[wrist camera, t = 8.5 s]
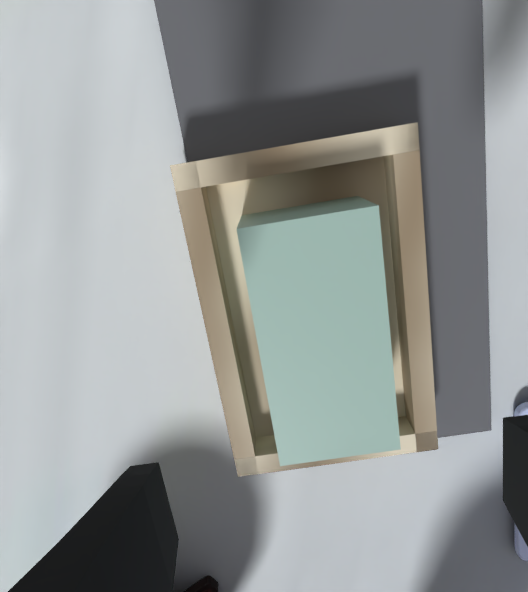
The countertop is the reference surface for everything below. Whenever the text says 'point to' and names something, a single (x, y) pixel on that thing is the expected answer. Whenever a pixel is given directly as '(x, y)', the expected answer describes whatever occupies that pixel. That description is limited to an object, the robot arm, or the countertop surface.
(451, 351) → the mat
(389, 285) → the tray
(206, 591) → the mate gourd
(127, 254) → the countertop surface
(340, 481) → the countertop surface
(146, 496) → the robot arm
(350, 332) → the block
